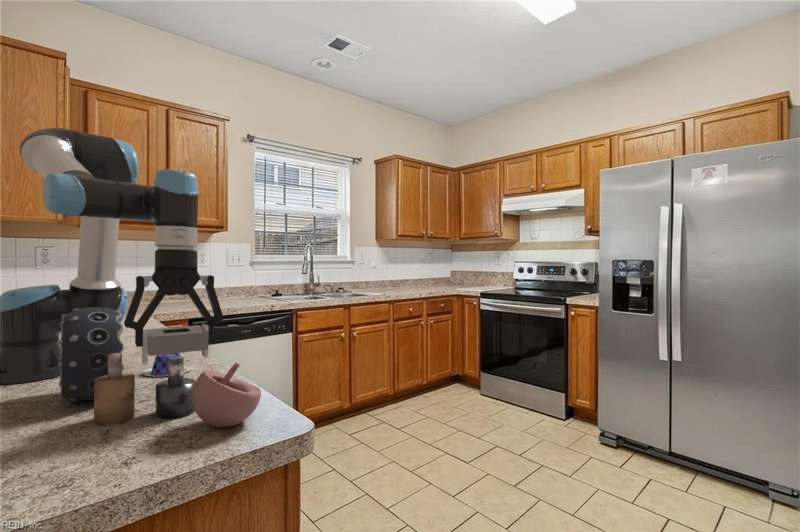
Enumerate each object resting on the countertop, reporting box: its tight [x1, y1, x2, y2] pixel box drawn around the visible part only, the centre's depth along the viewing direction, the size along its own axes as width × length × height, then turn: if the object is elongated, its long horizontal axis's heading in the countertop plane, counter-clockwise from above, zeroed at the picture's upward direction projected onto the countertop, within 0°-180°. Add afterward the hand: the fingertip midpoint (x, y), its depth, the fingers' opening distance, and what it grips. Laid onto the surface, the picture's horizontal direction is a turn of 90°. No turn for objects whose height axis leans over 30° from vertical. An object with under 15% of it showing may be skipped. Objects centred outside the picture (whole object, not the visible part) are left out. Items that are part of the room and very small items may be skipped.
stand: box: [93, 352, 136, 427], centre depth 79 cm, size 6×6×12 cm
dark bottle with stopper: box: [155, 356, 196, 420], centre depth 82 cm, size 7×7×11 cm
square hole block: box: [147, 325, 209, 357], centre depth 82 cm, size 10×10×4 cm
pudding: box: [142, 353, 193, 377], centre depth 112 cm, size 12×12×5 cm
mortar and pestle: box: [192, 362, 262, 428], centre depth 77 cm, size 12×12×11 cm
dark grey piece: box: [58, 307, 125, 402], centre depth 90 cm, size 11×20×20 cm, turn 37°
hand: (176, 359), depth 82 cm, fingers closed on square hole block, 10 cm apart
